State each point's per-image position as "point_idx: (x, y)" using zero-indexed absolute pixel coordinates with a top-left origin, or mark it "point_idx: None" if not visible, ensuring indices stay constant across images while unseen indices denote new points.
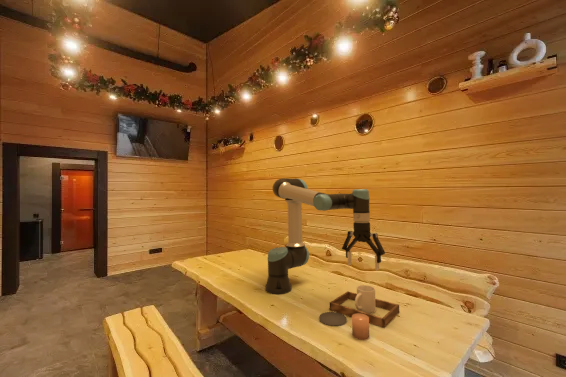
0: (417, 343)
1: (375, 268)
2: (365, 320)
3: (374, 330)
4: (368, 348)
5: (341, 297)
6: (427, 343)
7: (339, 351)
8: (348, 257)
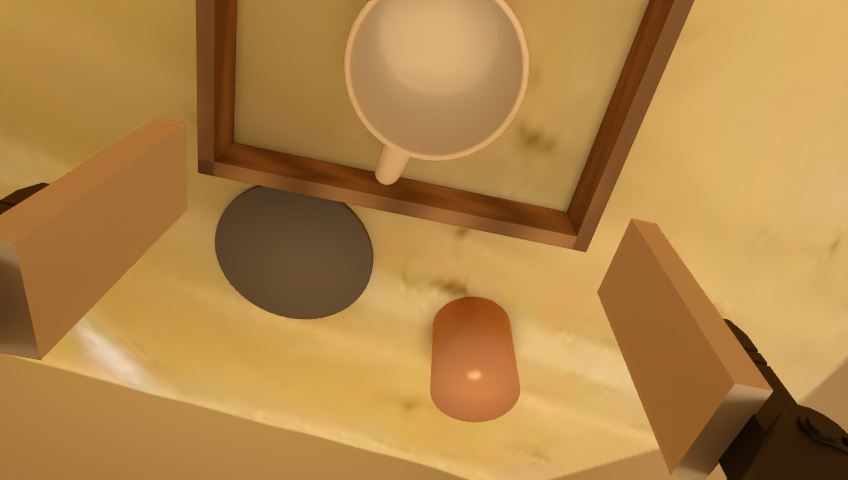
0: (725, 293)
1: (607, 308)
2: (506, 408)
3: (526, 268)
4: None
5: (216, 17)
6: (774, 276)
7: (423, 439)
8: (105, 278)
